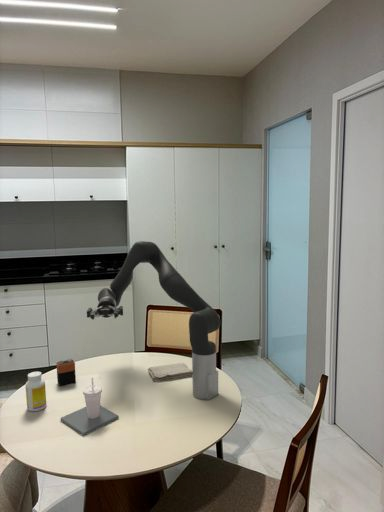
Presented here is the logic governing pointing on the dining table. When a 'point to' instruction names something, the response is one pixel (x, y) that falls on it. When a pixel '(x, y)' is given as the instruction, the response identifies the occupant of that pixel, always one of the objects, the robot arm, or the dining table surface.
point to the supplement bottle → (35, 392)
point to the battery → (66, 372)
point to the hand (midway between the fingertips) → (104, 316)
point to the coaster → (88, 420)
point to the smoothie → (92, 400)
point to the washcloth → (169, 372)
